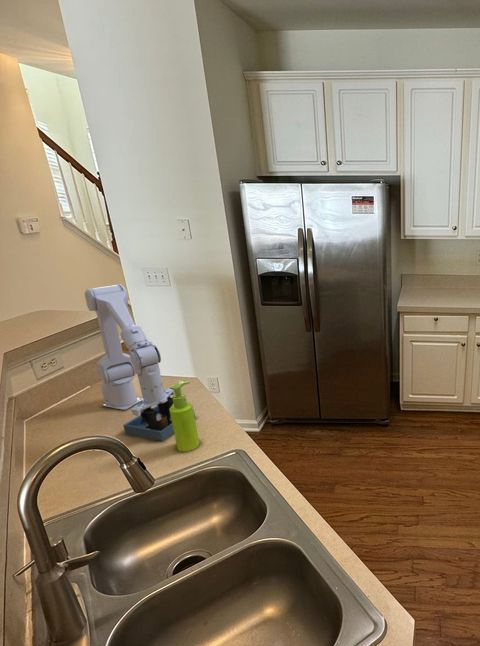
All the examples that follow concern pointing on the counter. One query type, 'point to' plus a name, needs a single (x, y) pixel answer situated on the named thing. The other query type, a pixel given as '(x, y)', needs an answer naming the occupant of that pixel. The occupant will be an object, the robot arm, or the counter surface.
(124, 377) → the robot arm
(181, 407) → the soap dispenser
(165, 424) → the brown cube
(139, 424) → the grid
